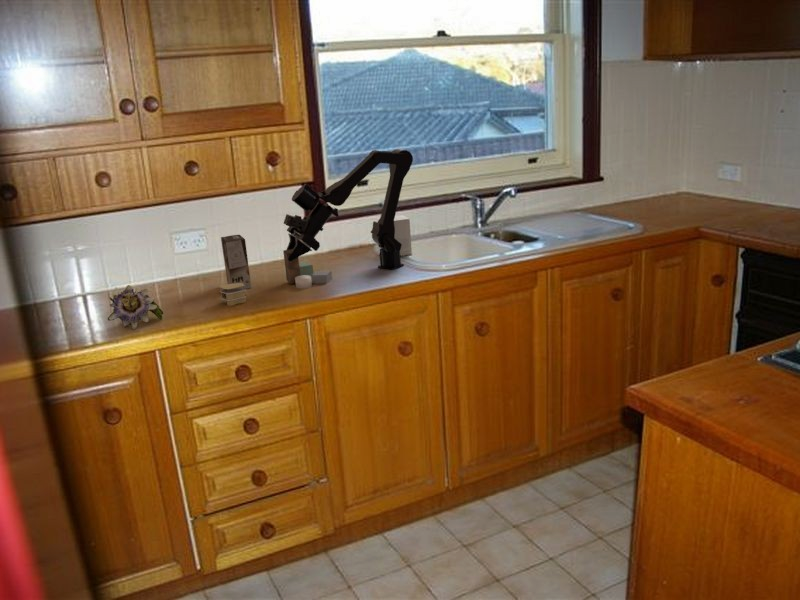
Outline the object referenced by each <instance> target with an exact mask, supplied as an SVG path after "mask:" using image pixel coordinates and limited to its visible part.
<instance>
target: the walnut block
mask: <svg viewBox="0 0 800 600" xmlns="http://www.w3.org/2000/svg"><path fill="white" fill-rule="evenodd" d="M292 250H293V249H289V250H286V249H283V250H282V251H283V260H284V268H285V276H286V281H287V282H288V283H289V284H296V282H295V277H297V276H300V268H299V262H300V260H299V257H298V258H296V259H294V260H292V261H289V260H288V258H289V256H290V254H291V252H292Z"/></svg>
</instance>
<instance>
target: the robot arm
mask: <svg viewBox="0 0 800 600" xmlns="http://www.w3.org/2000/svg"><path fill="white" fill-rule="evenodd" d="M413 161H414V157H413V154H412V153H411V152H410V150H406V149H402V148H396V149H394V150H392V151H389V150H388V151H387V150H385V151H384V150H376V149H375V150H372V151H370V153H369V154H368V155H367V156H365V158H364V159H362V161H361V162H360V163H358V164H357V165H356V166H355V167H354V168H353V169H352V170H351V171H350V172H349V173H347V175H346V176H344V177H343V178H342V179H339V180H338V181H336V182H334V183H333V184H331V185H330V186H328V187H327V188H325V190H323V191H322V190H321V191H319V192H316V191H315V190H314V189H312V187H311V186H310V185H308V184H306V183H304V184H303V185H302V186H301V187H299V188H298V189H297V190H296V191H295V192H294V194H292V197H291V201H292V202H294V203H295V204H296V205H297V206H299V208H301V209H302V210H303V211H305V212H308V211H311V212H310V213H309V214H308V215H307V216H305V215H304V216H303V218H302V216H300V215H298V214H295V215H290V214H288V213H286V215H285V217H284V220H283V224H284V225H285V226H287V229H286V231H287V232H288V237H289V242H288V245H287V247H286V249H285V250H289V249H293V250H292V252H291V254H290V256H289V258H288V260H289V261H292V260H294V259H296V258H298V259H299V257H301V256H303V255H305V254H307V253H309V252H312V251H315V252H317V251H318V250H319V248H320V247H321V245H320V242H319V241H318V240H317V239H316V237H317V235H318V233H320V232H322V231H323V230H324V228H323V227H324V226H325V225H326V223H327V221H328V220H329V219H330V218H331V216H333V217H335V218H339V208H336V207H340V206H342V205H344V204H345V202H346V201H348V200H347V199H348V198H349V197H350V195H351V193H352V192H353V190H354V189H355V187H356V186H357V185H358V184H359V183H361V181H363V180H364V179H365V178H366V177H367V176H368V175H369V174H370V173H371V172H372V171H373V170H375V168H377V166H379V165H380V164H387V165H388V168H389V179H388V183H387V184H388V185H387V188H386V193H385V197H384V201H383V206H382V209H381V214H380V218H379V219H378V220H377V221H375V220H374V221H373V222H372V229H371V231H370V233H371V238H372V240H373V242H374V243H376V244H377V245H378V248H379V264H380V265H378V266H377V268H379V269H385V270H395V269H398V268H400V267H403V266H405V264H404V263H401V256H400V250H401V246H402V244H401V243H400V242H398V241H397V240H396V239H395V226H394V218H395V216H396V215H397V214H396V212H397V209H398V204H399V201H400V195H401V191H402V187H403V183H404V179H405V178H406V176H407V174H408V173H409V171H410V169H411V167H412V164H413ZM321 201H322V202H324V203H322V202H321ZM330 204H331V205H332V206H334V208H333V207H332V206H331V205H330ZM335 206H336V207H335Z"/></svg>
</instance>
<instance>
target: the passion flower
mask: <svg viewBox="0 0 800 600" xmlns="http://www.w3.org/2000/svg"><path fill="white" fill-rule="evenodd" d="M148 292H149V289H148V288H144V289H141V290H140V291H137V290H135V291H134V288H133V287H132V285H129V284H127V285H126V287H125V289H124V290H123V291H121V292H120V293H118V294H113V296H112V297H113V298H112V297H111V296H109V300H110V301H111V302H112V303H110V304H109V307H111V308H113V309H112V310H113V311H112V313H111V314H110V315H109V316H108V317H107V321H115V320H117V319H120V321H121V326H122V327H123V329H124V328H126V327H129V326H130V327H131V329H132V330H136V329H137V328H138V324H139V321H141V322H144V323H146V324H147V323H149V321H150V318H149V314H148V313H149V311H150V312H151V313H152V314H154V315H155V316H156V317H157V319H158V320H160V321H162V320H163V315H164V311H163V310H162V309H161V308H160V306H159V304H158V303H157V302H155V301H154V300H155V297H154V296H149V294H148Z"/></svg>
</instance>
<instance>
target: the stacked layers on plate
mask: <svg viewBox="0 0 800 600" xmlns="http://www.w3.org/2000/svg"><path fill="white" fill-rule="evenodd" d="M241 286H245V285H244V284H243V283H234V284H228V283H225V284H221V285H220V286H219V288H220V290H219V292H220V293H221V297H220V299H221V300H224V301H226V304H227V306H234V305H237V304H243V303H246V302H247V301H246V298H247V297H248V296H247V295H246V294H245V292H246V290H247V289H245V288H243V287H241Z"/></svg>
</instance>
